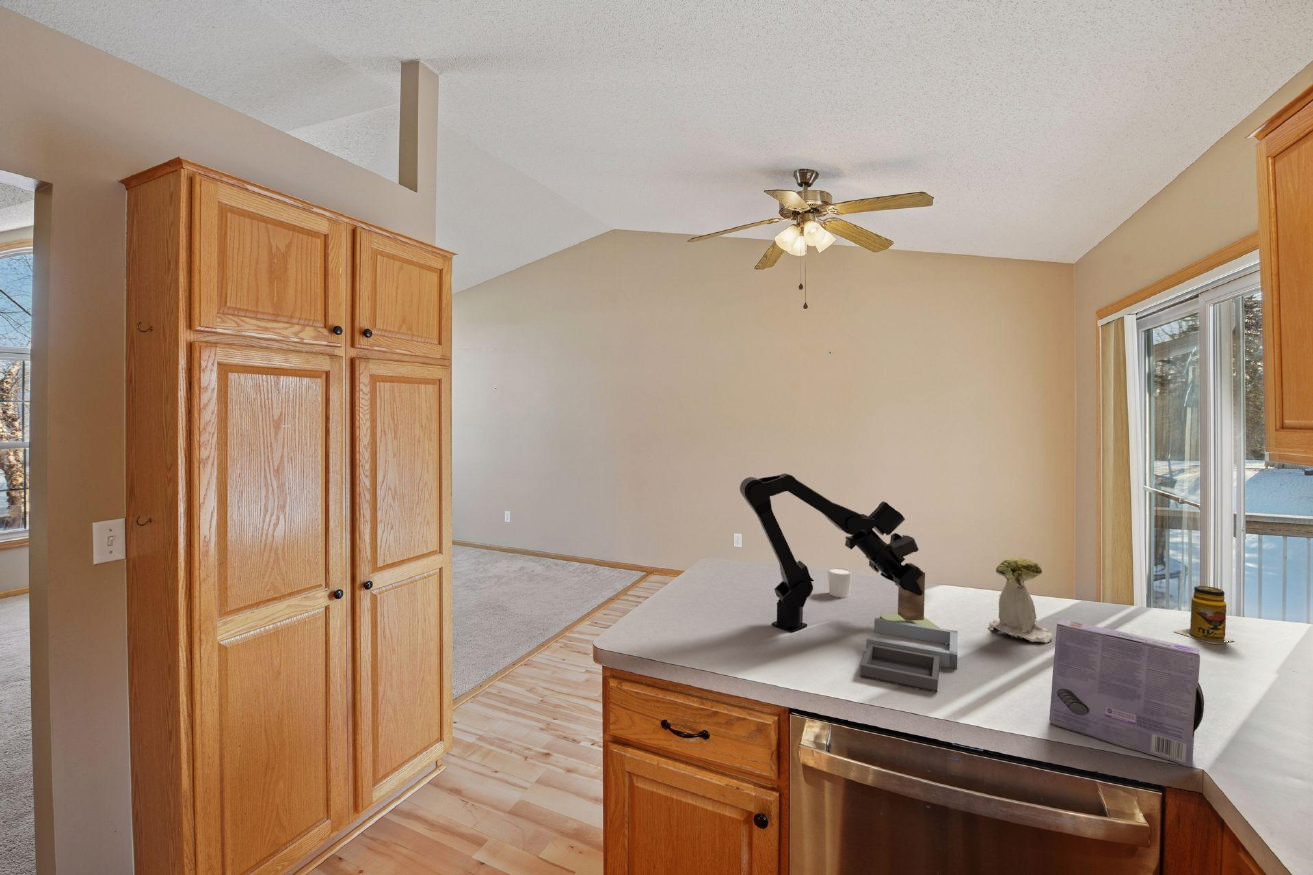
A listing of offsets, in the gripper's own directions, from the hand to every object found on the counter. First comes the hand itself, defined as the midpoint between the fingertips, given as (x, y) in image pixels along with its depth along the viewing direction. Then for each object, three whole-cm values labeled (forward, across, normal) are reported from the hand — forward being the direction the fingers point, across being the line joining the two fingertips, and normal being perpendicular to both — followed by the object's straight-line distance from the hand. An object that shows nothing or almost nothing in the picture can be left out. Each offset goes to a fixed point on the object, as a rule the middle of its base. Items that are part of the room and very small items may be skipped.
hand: (916, 591), depth 145 cm
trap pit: (-6, -26, +18) cm, 32 cm away
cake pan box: (+12, -52, 0) cm, 53 cm away
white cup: (-1, +24, +14) cm, 28 cm away
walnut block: (+4, 0, +6) cm, 7 cm away
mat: (+5, 0, +7) cm, 9 cm away
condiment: (+52, -10, -40) cm, 67 cm away
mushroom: (+22, -7, -10) cm, 25 cm away
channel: (0, -14, +12) cm, 18 cm away
